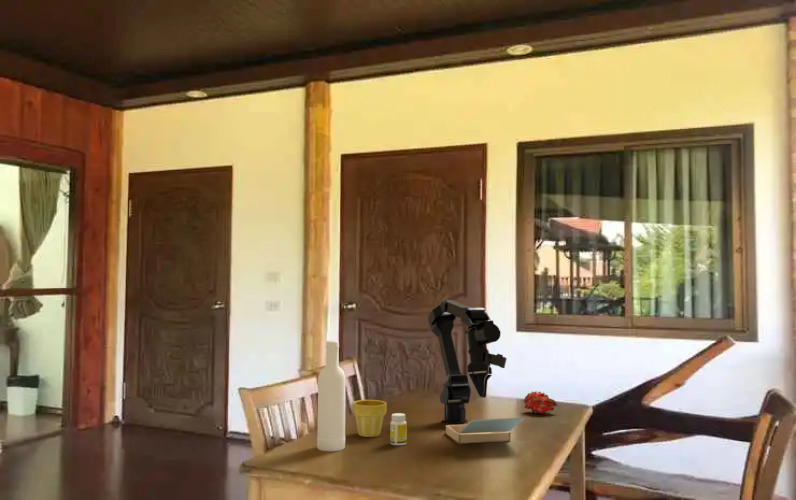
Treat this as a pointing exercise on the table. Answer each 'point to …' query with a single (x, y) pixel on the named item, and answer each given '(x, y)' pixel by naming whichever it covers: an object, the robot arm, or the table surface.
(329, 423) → the bottle
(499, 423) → the lid
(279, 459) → the table surface
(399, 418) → the supplement bottle
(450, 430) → the wooden tray
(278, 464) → the table surface
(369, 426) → the plant pot
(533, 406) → the dragon fruit
